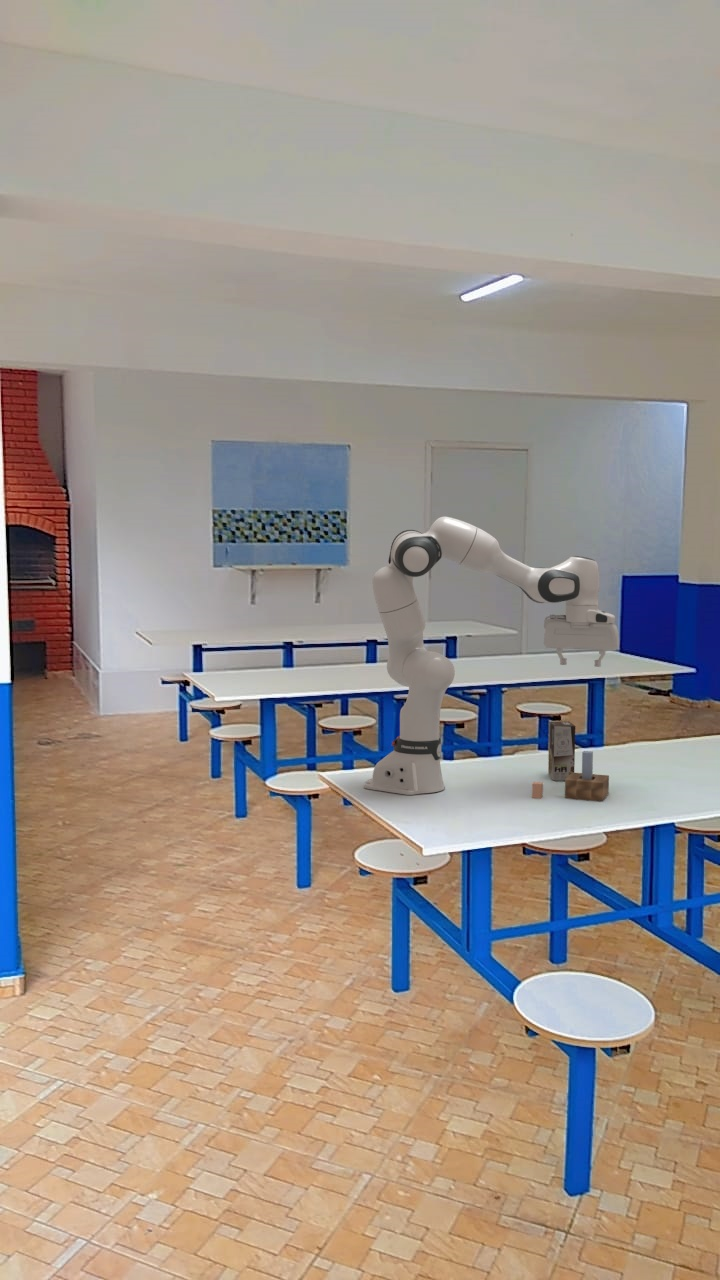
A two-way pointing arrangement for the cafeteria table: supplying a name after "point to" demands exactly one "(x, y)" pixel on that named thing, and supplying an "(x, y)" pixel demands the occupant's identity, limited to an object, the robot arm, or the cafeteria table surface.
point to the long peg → (587, 765)
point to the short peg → (537, 790)
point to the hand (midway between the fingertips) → (580, 665)
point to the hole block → (587, 787)
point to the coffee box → (561, 750)
